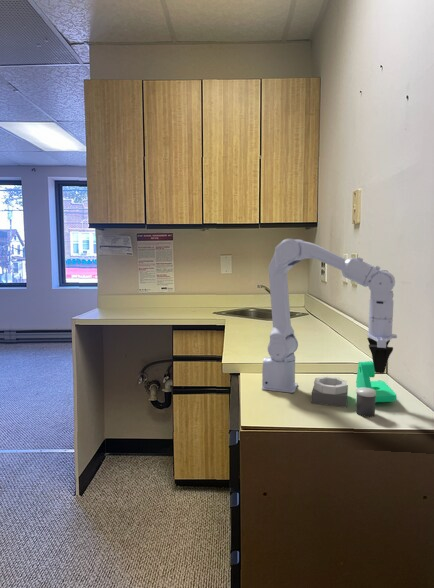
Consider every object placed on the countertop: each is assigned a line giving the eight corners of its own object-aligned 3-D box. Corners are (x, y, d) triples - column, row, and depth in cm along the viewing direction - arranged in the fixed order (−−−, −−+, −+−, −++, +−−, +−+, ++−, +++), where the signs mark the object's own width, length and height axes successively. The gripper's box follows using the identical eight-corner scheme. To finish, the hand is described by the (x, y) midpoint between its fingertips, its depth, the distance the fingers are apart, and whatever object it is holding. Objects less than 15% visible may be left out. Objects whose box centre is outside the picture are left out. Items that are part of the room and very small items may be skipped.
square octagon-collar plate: (311, 403, 105) (311, 385, 105) (314, 391, 114) (315, 375, 113) (346, 407, 102) (347, 388, 102) (347, 395, 111) (348, 378, 110)
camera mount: (398, 405, 102) (396, 366, 101) (367, 406, 103) (365, 368, 102) (383, 389, 114) (382, 354, 113) (356, 390, 115) (354, 356, 114)
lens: (355, 416, 97) (356, 392, 97) (355, 409, 102) (356, 386, 101) (375, 418, 96) (376, 394, 95) (374, 411, 100) (375, 388, 99)
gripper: (400, 323, 94) (398, 378, 95) (394, 313, 108) (392, 362, 109) (369, 321, 96) (367, 375, 98) (367, 312, 110) (365, 360, 111)
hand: (378, 368), depth 103 cm, fingers open, 7 cm apart
